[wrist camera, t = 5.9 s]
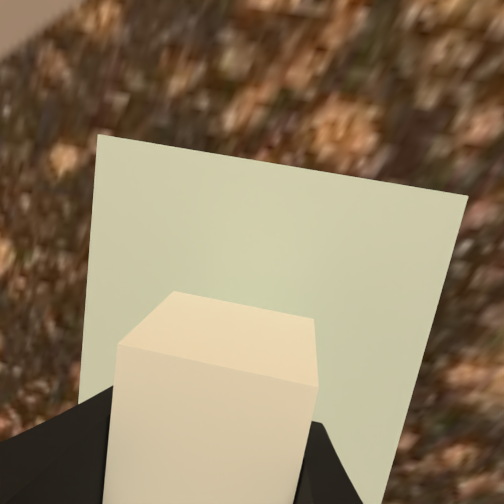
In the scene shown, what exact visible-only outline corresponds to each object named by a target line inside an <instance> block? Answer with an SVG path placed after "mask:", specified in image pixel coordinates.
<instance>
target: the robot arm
mask: <svg viewBox="0 0 504 504" xmlns="http://www.w3.org/2000/svg"><path fill="white" fill-rule="evenodd" d="M113 386H114V385H113ZM113 386H111V387H109V388H107V389H105V390H104V391H102V392H100V393H98V394H96V395H95V396H93V397H91V398H89V399H87V400H86V401H84V402H82V403H80V404H78V405H76V406H75V407H73V408H71V409H69V410H67V411H65V412H63V413H62V414H60V415H58V416H56V417H54V418H51V419H49V420H47V421H45V422H43V423H41V424H39V425H37V426H35V427H33V428H31V429H29V430H27V431H25V432H23V433H21V434H19V435H16V436H14V437H12V438H10V439H7V440H5V441H3V442H0V504H103V493H104V482H105V472H106V461H107V450H108V440H109V429H110V418H111V407H112V397H113ZM293 504H363V502H362V500H361V498H360V497H359V495H358V493H357V491H356V490H355V488H354V486H353V484H352V482H351V480H350V479H349V477H348V475H347V473H346V471H345V469H344V467H343V465H342V463H341V461H340V459H339V457H338V455H337V453H336V451H335V449H334V447H333V445H332V442H331V440H330V438H329V436H328V433H327V431H326V429H325V427H324V425H323V424H322V423H320V422H315V421H311V425H310V430H309V434H308V439H307V443H306V447H305V452H304V456H303V461H302V465H301V470H300V474H299V479H298V483H297V488H296V492H295V496H294V501H293Z"/></svg>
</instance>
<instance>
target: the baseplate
mask: <svg viewBox="0 0 504 504" xmlns="http://www.w3.org/2000/svg"><path fill="white" fill-rule="evenodd" d="M467 199H468V196H465V195H459V194H453V193H447V192H441V191H435V190H429V189H423V188H417V187H411V186H405V185H399V184H393V183H387V182H381V181H375V180H369V179H363V178H357V177H351V176H345V175H339V174H333V173H327V172H321V171H315V170H309V169H303V168H297V167H291V166H285V165H279V164H273V163H267V162H261V161H255V160H249V159H243V158H237V157H231V156H225V155H219V154H213V153H207V152H201V151H195V150H189V149H184V148H178V147H172V146H166V145H160V144H154V143H148V142H142V141H136V140H130V139H124V138H118V137H112V136H106V135H100V134H98V139H97V153H96V167H95V181H94V195H93V208H92V222H91V236H90V250H89V264H88V277H87V291H86V305H85V319H84V333H83V346H82V360H81V374H80V388H79V402H78V404H80V403H82V402H84V401H86V400H87V399H89V398H91V397H93V396H95V395H96V394H98V393H100V392H102V391H104V390H105V389H107V388H109V387H111V386H113V385H114V375H115V364H116V354H117V344H118V343H119V342H120V341H121V340H122V339H123V338H124V337H125V336H126V335H127V334H129V333H130V332H131V331H132V330H133V329H134V328H135V327H136V326H137V325H138V324H139V323H140V322H141V321H142V320H143V319H144V318H146V317H147V316H148V315H149V314H150V313H151V312H152V311H153V310H154V309H155V308H156V307H157V306H158V305H159V304H160V303H162V302H163V301H164V300H165V299H166V298H167V297H168V296H169V295H170V294H171V293H172V292H173V291H177V292H182V293H187V294H192V295H197V296H202V297H207V298H212V299H217V300H222V301H227V302H232V303H237V304H242V305H247V306H252V307H257V308H262V309H267V310H272V311H277V312H282V313H287V314H292V315H297V316H302V317H307V318H312V319H314V325H315V339H316V353H317V367H318V381H319V389H318V394H317V398H316V403H315V407H314V412H313V416H312V421H315V422H320V423H322V424H323V425H324V427H325V429H326V431H327V433H328V436H329V438H330V440H331V442H332V445H333V447H334V449H335V451H336V453H337V455H338V457H339V459H340V461H341V463H342V465H343V467H344V469H345V471H346V473H347V475H348V477H349V479H350V480H351V482H352V484H353V486H354V488H355V490H356V491H357V493H358V495H359V497H360V498H361V500H362V502H363V504H381V502H382V498H383V495H384V491H385V488H386V484H387V481H388V477H389V474H390V470H391V467H392V463H393V460H394V456H395V453H396V449H397V445H398V442H399V438H400V435H401V431H402V428H403V424H404V421H405V417H406V414H407V410H408V407H409V403H410V400H411V396H412V393H413V389H414V386H415V382H416V379H417V375H418V372H419V368H420V365H421V361H422V358H423V354H424V350H425V347H426V343H427V340H428V336H429V333H430V329H431V326H432V322H433V319H434V315H435V312H436V308H437V305H438V301H439V298H440V294H441V291H442V287H443V284H444V280H445V277H446V273H447V270H448V266H449V263H450V259H451V255H452V252H453V248H454V245H455V241H456V238H457V234H458V231H459V227H460V224H461V220H462V217H463V213H464V210H465V206H466V203H467Z"/></svg>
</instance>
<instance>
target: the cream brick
mask: <svg viewBox="0 0 504 504" xmlns="http://www.w3.org/2000/svg"><path fill="white" fill-rule="evenodd" d="M318 389H319V381H318V367H317V353H316V339H315V325H314V319H312V318H307V317H302V316H297V315H292V314H287V313H282V312H277V311H272V310H267V309H262V308H257V307H252V306H247V305H242V304H237V303H232V302H227V301H222V300H217V299H212V298H207V297H202V296H197V295H192V294H187V293H182V292H177V291H173V292H172V293H171V294H170V295H169V296H168V297H167V298H166V299H165V300H164V301H163V302H162V303H160V304H159V305H158V306H157V307H156V308H155V309H154V310H153V311H152V312H151V313H150V314H149V315H148V316H147V317H146V318H144V319H143V320H142V321H141V322H140V323H139V324H138V325H137V326H136V327H135V328H134V329H133V330H132V331H131V332H130V333H129V334H127V335H126V336H125V337H124V338H123V339H122V340H121V341H120V342H119V343H118V344H117V354H116V364H115V375H114V386H113V397H112V407H111V418H110V429H109V440H108V450H107V461H106V472H105V482H104V493H103V504H293V501H294V496H295V492H296V488H297V483H298V479H299V474H300V470H301V465H302V461H303V456H304V452H305V447H306V443H307V439H308V434H309V430H310V425H311V421H312V416H313V412H314V407H315V403H316V398H317V394H318Z"/></svg>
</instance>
